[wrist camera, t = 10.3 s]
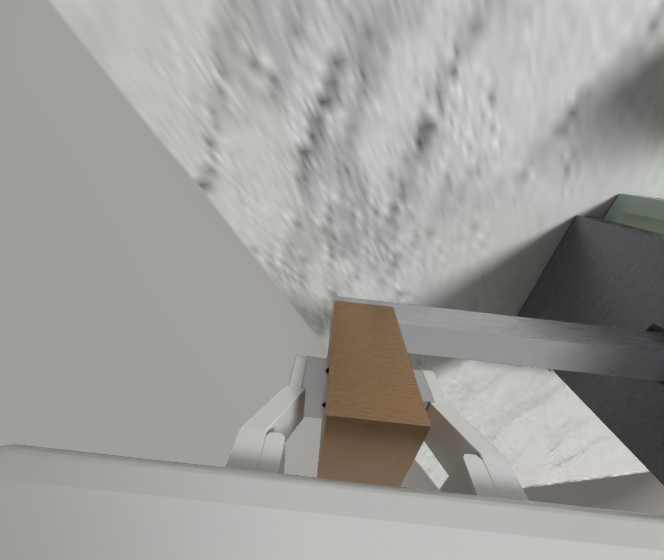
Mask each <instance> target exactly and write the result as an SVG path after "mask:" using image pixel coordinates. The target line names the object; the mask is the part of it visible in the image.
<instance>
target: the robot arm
mask: <svg viewBox="0 0 664 560" xmlns="http://www.w3.org/2000/svg"><path fill="white" fill-rule="evenodd" d="M328 369H329V359H324V358H318V357H311V356H302V355H296V357H295V361H294V365H293V370H292V374H291V378H290V382H289V386H284V387H283V388H282V389H281V390H280V391H279V392H278V393H277V394H276V395H275V396H274V397H273V398H272V399H271V400H270V401H268V402H267V403H266V404H265V405H264V406H263V407H262V408H261V409H260V410H259V411H258V412H257V413H256V414H255V415H254V416H252V417H251V418H250V419H249V420H248V421H247V422H246V423H245V424H244V425H243V426H242V427H241V428H240V431H239V434H238V436H237V439H236V441H235V444H234V447H233V449H232V452H231V455H230V457H229V459H228V462H227V465H226V467H215V466H207V465H197V464H188V463H179V462H170V461H161V460H151V459H142V458H133V457H124V456H115V455H106V454H96V453H87V452H79V451H70V450H60V449H52V448H43V447H35V446H26V445H5V446H1V447H0V560H664V516H662V515H653V514H643V513H635V512H626V511H616V510H607V509H598V508H588V507H580V506H570V505H562V504H552V503H542V502H534V501H529V500H528V498H527V497H526V494H525V493H524V491H523V489H522V487H521V485H520V483H519V481H518V479H517V477H516V475H515V474H514V472H513V470H512V468H511V466H510V464H509V462H508V460H507V458H506V457H505V456H504V455H503V454H502V453H501V452H500V451H499V450H498V449H497V448H496V447H495V446H493V445H492V444H491V443H490V442H489V441H488V440H487V439H486V438H485V437H484V436H483V435H482V434H481V433H480V432H479V431H478V430H477V429H476V428H475V427H474V426H472V425H471V424H470V423H469V422H468V421H467V420H466V419H465V418H464V417H463V416H462V415H461V414H460V413H459V412H458V411H457V410H456V409H455V408H454V407H453V406H451V405H449V404H447V403H446V400H445V398H444V395H443V393H442V391H441V388H440V386H439V383H438V381H437V379H436V376H435V374H434V372H433V371H432V370H424V369H416V368H413V371H414V374H415V378H416V381H417V384H418V387H419V390H420V393H421V397H422V400H423V403H424V406H425V409H426V412H427V416H428V419H429V422H430V425H431V428H430V430H429V432H428V433H427V435H426V437H425V439H424V441H425V443H426V444H427V445H428V447H429V448H430V450H431V451H432V452H433V454H434V455H435V457H436V458H437V460H438V461H439V462H440V464H441V465H442V467H443V468H444V469H445V471H446V472H447V474H448V475H449V477H448V478H447V480H446V481H445V483H444V484H443V486H442V487H441V489H440V490H441V491H434V490H425V489H416V488H407V487H398V486H389V485H380V484H371V483H362V482H353V481H343V480H334V479H325V478H315V477H307V476H298V475H289V474H284V461H285V442H286V440H287V439H288V438H289V436H290V435H291V434H292V432H293V431H294V430H295V428H296V427H297V426H298V424H299V423H300V422H301V421H302V419H303V417H312V418H323V415H324V408H325V401H326V393H327V383H328Z"/></svg>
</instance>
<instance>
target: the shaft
mask: <svg viewBox="0 0 664 560" xmlns="http://www.w3.org/2000/svg"><path fill="white" fill-rule="evenodd" d="M408 353H412V354H421V355H430V356H439V357H448V358H457V359H466V360H475V361H484V362H493V363H502V364H511V365H520V366H529V367H538V368H547V369H556V370H565V371H574V372H583V373H592V374H601V375H610V376H619V377H628V378H637V379H646V380H655V381H664V333H659V332H650V331H641V330H632V329H623V328H614V327H605V326H597V325H588V324H579V323H570V322H561V321H552V320H543V319H534V318H525V317H516V316H507V315H499V314H490V313H481V312H472V311H463V310H454V309H445V308H436V307H427V306H418V305H410V304H401V303H392V302H383V301H374V300H365V299H356V298H347V297H338V296H334V301H333V309H332V317H331V327H330V339H329V349H328V356H327V359H329V369H328V383H327V393H326V401H325V408H324V415H323V418H322V426H321V438H320V449H319V461H318V473H317V478H325V479H334V480H343V481H353V482H362V483H371V484H380V485H389V486H398V487H400V486H401V484H402V482H403V480H404V478H405V476H406V474H407V472H408V470H409V468H410V467H411V464H412V463H413V461H414V459H415V457H416V455H417V453H418V451H419V449H420V447H421V445H422V443H423V441H424V439H425V437H426V435H427V433H428V432H429V430H430V428H431V425H430V422H429V419H428V416H427V412H426V409H425V406H424V403H423V400H422V397H421V393H420V390H419V387H418V384H417V381H416V378H415V374H414V371H413V368H412V365H411V362H410V359H409V355H408Z"/></svg>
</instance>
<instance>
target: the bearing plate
mask: <svg viewBox="0 0 664 560" xmlns="http://www.w3.org/2000/svg"><path fill="white" fill-rule="evenodd" d="M517 317H525V318H534V319H543V320H552V321H561V322H570V323H579V324H588V325H597V326H605V327H614V328H623V329H632V330H641V331H650V332H659V333H664V234H660V233H656V232H652V231H648V230H644V229H640V228H636V227H632V226H628V225H624V224H620V223H617V222H613V221H609V220H605V219H601V218H593V217H584V216H576V217H575V219H574V221H573V222H572V224H571V226H570V227H569V229H568V231H567V232H566V234H565V236H564V238H563V239H562V241H561V243H560V244H559V246H558V248H557V249H556V251H555V253H554V255H553V256H552V258H551V260H550V261H549V263H548V265H547V266H546V268H545V270H544V272H543V273H542V275H541V277H540V278H539V280H538V282H537V283H536V285H535V287H534V289H533V290H532V292H531V294H530V295H529V297H528V299H527V300H526V302H525V304H524V306H523V307H522V309H521V311H520V312H519V314H518V316H517ZM552 370H553V371H554V372H555V373H556V374H557V375H558V376H559V377H560V378H561V379H562V380H563V381H564V382H565V383H566V384H567V385H568V386H569V387H570V389H571V390H572V391H573V392H574V393H575V394H576V395H577V396H578V397H579V398H580V399H581V400H582V401H583V402H584V403H585V404H586V405H587V406H588V407H589V408H590V409H591V410H592V411H593V412H594V413H595V415H596V416H597V417H598V418H599V419H600V420H601V421H602V422H603V423H604V424H605V425H606V426H607V427H608V428H609V429H610V430H611V431H612V432H613V433H614V434H615V435H616V436H617V437H618V438H619V439H620V440H621V442H622V443H623V444H624V445H625V446H626V447H627V448H628V449H629V450H630V451H631V452H632V453H633V454H634V455H635V456H636V457H637V458H638V459H639V460H640V461H641V462H642V463H643V464H644V465H645V466H646V468H647V469H648V470H649V471H650V472H651V473H652V474H654V476H655V477H656V478H657V479H658V480H659V481H660V482H661V483H662V484H663V485H664V381H655V380H646V379H637V378H628V377H619V376H610V375H601V374H592V373H583V372H574V371H565V370H556V369H552Z"/></svg>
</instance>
